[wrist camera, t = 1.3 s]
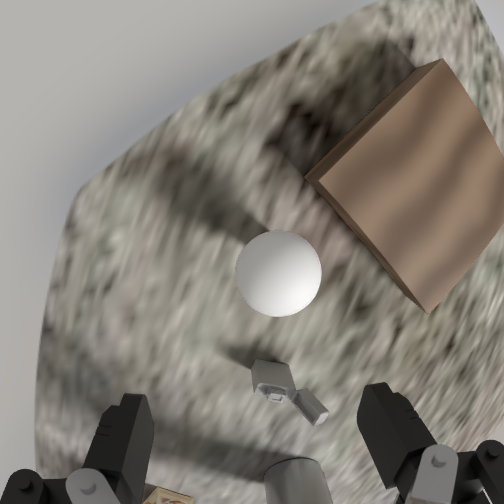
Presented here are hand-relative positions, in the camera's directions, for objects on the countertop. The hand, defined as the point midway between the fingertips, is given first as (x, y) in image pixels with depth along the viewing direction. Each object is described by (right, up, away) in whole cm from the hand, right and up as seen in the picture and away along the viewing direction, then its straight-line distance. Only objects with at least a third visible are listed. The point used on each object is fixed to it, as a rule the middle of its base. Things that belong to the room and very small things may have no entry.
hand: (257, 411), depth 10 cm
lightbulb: (+1, +6, +20) cm, 21 cm away
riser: (+17, +13, +19) cm, 29 cm away
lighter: (+3, -8, +24) cm, 26 cm away
